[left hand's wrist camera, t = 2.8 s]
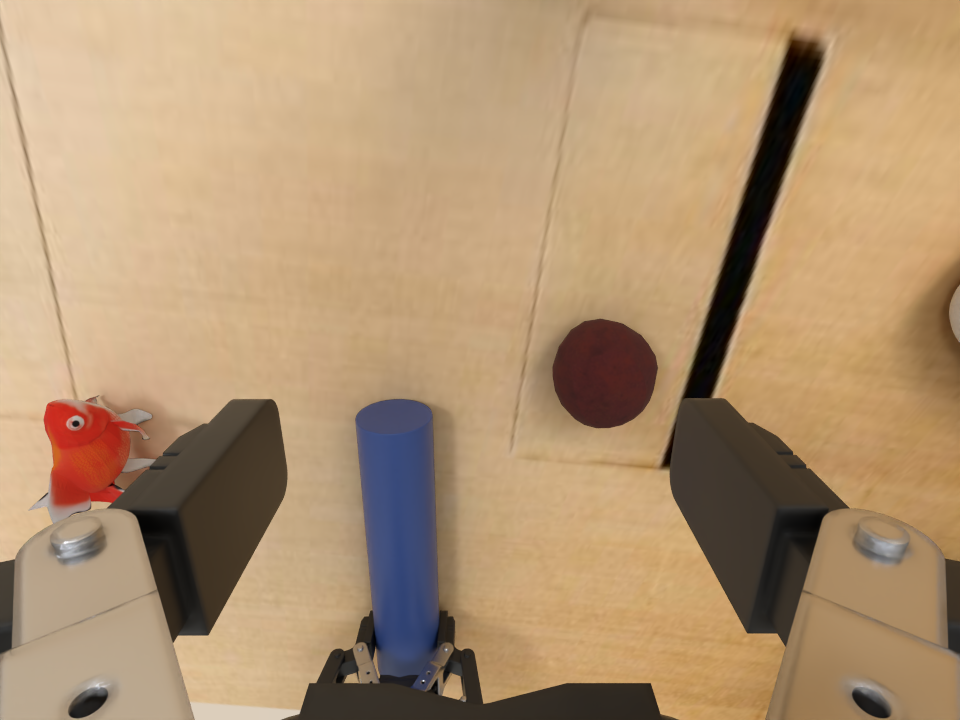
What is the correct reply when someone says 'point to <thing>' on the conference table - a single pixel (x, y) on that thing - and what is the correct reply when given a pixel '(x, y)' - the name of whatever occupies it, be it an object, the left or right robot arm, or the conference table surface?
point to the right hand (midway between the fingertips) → (410, 617)
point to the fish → (88, 454)
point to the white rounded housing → (955, 313)
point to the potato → (604, 373)
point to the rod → (400, 531)
